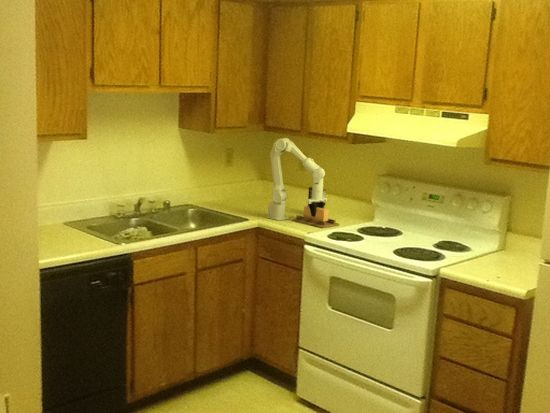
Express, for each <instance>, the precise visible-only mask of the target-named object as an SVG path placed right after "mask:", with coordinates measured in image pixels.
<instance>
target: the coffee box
mask: <svg viewBox="0 0 550 413" xmlns="http://www.w3.org/2000/svg"><path fill="white" fill-rule="evenodd" d="M307 195H308V196H307V200H308V199H311V198H312V186H309V187H308V194H307ZM326 195H327V189H325V188H323V197H322V198H327V196H326ZM325 207H326V205H325V206H324V207H323V208H324V209H326V208H325Z"/></svg>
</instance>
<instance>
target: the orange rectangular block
mask: <svg viewBox="0 0 550 413" xmlns="http://www.w3.org/2000/svg"><path fill="white" fill-rule="evenodd" d="M329 214H330V209H328V208H325V209H324V208H319V207H317V208H316V214H315V217H314V216H311V211H310V208H309V206H308V205H304V207H303V217H307V218H312V219H316V220H320V221H328V219H329V217H330V216H329Z"/></svg>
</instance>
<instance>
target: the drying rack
mask: <svg viewBox="0 0 550 413" xmlns="http://www.w3.org/2000/svg"><path fill="white" fill-rule="evenodd" d="M293 221H295V223H299V224H301V225H307V226H311V227H314V228H319V229H328V228H333V227H339V226H341V225H340V223H337V222H336V219H332V218H328V221H320V220H316V219H312V218H307V217H304V215H299V214H298V215H296V216H295V218H292V219H291V222H293Z"/></svg>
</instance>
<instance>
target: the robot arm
mask: <svg viewBox="0 0 550 413" xmlns="http://www.w3.org/2000/svg"><path fill="white" fill-rule="evenodd" d="M284 152H289V153H292V154H293V155H294V156H295V157H296V158H297V159H298V160H300V161H301V163H302V166H303V168H305V170H306V171H307V172H308V173H309V174H311V177H312V186H311V187H312V198H311V199H308V198H307V199H306V204H307V206H309V208H310V211H311V216H314V217H315V214H316V208H317V207H319V208H323V207H324V206H325V207H326V203H327V202H328V198H327V197H326V198H322V197H323V189H324V177H325V176H326V171H325V169H324V168H323V167H321V166H320V165H318V164H317V163H316V162H315V160H314V159H313V158H311V157H307V156H306V155H305V154H304V153H303V152H302V151H301V150H300V148H299V147H298V146H296V144H295V143H294V141H292V140H291V139H289V138H288V137H283V138H278V139H276V140H275V141H274V143H273V144H272V147H271V150H270V152H269V156H270V157H269V158H270V166H271V173H272V174H271V175H272V182H273V188H272V194H271V199H272V201H271V202H269V204H268V205H267V206H268V207H267V216H266V218H267V219H271V220H275V221H285V220H289V218H288V217H286V208H287V202H286V200H287V199H288V192H287V190H286V187H285V185H284V180H283V170H282V162H281V155H282V154H284Z"/></svg>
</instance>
